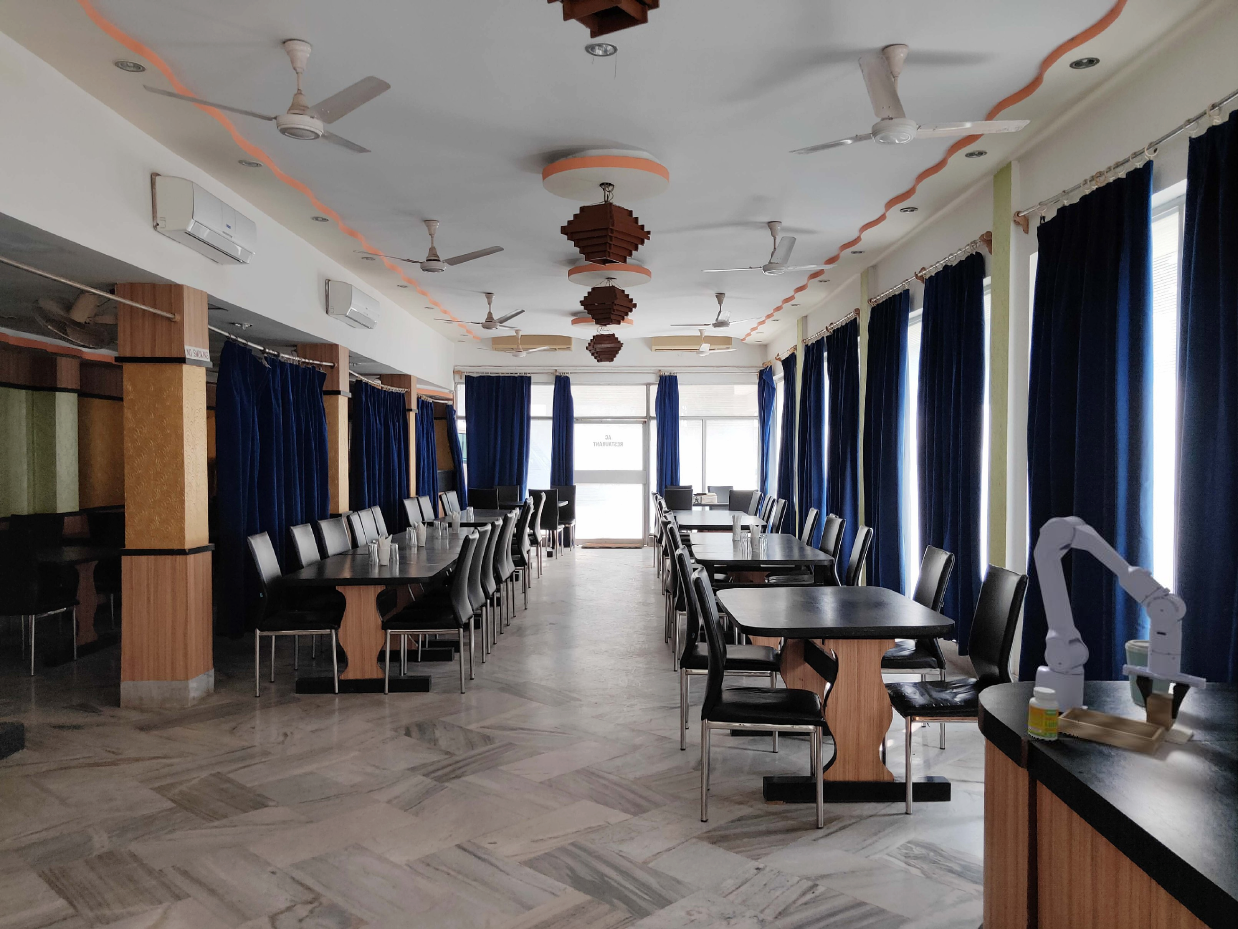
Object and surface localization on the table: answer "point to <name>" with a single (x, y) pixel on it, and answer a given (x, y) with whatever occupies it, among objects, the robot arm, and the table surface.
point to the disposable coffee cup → (1139, 657)
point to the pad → (1176, 734)
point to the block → (1160, 709)
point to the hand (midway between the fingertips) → (1161, 715)
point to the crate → (1112, 730)
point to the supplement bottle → (1043, 714)
